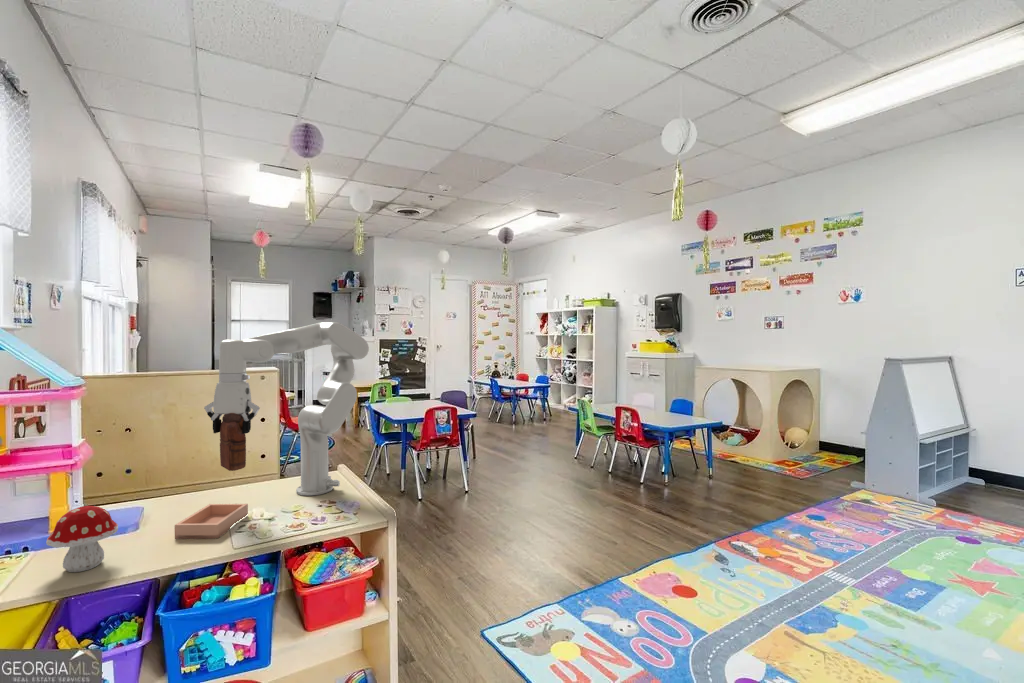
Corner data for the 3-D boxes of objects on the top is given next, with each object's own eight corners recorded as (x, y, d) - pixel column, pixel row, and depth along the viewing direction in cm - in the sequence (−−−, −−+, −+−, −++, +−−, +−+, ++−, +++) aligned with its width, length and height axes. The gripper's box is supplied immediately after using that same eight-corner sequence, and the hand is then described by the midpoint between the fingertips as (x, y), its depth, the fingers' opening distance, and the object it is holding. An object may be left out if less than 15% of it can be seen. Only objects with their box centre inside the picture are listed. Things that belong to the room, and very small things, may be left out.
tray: (247, 516, 157) (247, 503, 157) (217, 538, 140) (217, 524, 140) (209, 516, 157) (209, 503, 157) (174, 539, 140) (174, 525, 140)
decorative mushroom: (60, 559, 127) (59, 501, 127) (126, 550, 133) (126, 494, 132) (34, 585, 114) (33, 521, 114) (109, 573, 120) (108, 512, 120)
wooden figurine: (250, 468, 156) (251, 412, 156) (228, 472, 151) (229, 413, 151) (237, 461, 164) (238, 407, 164) (215, 464, 159) (217, 409, 159)
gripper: (265, 378, 161) (264, 431, 161) (212, 377, 161) (211, 430, 161) (253, 379, 153) (252, 435, 153) (197, 379, 153) (196, 434, 153)
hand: (231, 432), depth 157 cm, fingers closed on wooden figurine, 8 cm apart
